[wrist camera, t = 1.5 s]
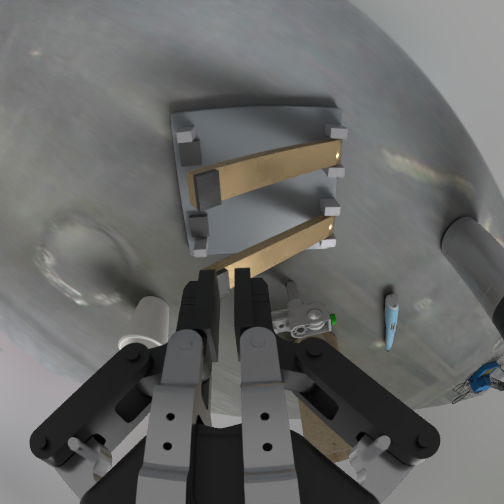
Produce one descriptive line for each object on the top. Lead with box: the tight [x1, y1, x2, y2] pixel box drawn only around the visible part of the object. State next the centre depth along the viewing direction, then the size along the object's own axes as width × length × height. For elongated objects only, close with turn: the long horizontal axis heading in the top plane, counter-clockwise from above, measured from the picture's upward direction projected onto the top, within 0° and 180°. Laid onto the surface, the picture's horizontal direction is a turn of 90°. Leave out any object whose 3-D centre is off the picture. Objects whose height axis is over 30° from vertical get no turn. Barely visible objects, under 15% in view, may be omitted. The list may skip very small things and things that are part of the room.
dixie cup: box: [118, 296, 169, 350], centre depth 45 cm, size 8×8×10 cm
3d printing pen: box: [385, 293, 399, 352], centre depth 54 cm, size 19×3×3 cm, turn 18°
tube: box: [294, 332, 352, 463], centre depth 48 cm, size 10×10×25 cm
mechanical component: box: [271, 281, 336, 338], centre depth 43 cm, size 3×10×10 cm, turn 103°
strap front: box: [186, 138, 342, 212], centre depth 27 cm, size 19×3×2 cm
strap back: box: [202, 214, 335, 299], centre depth 33 cm, size 19×3×2 cm
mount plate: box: [170, 105, 348, 257], centre depth 35 cm, size 20×20×4 cm
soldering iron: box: [452, 362, 504, 404], centre depth 85 cm, size 35×31×18 cm
